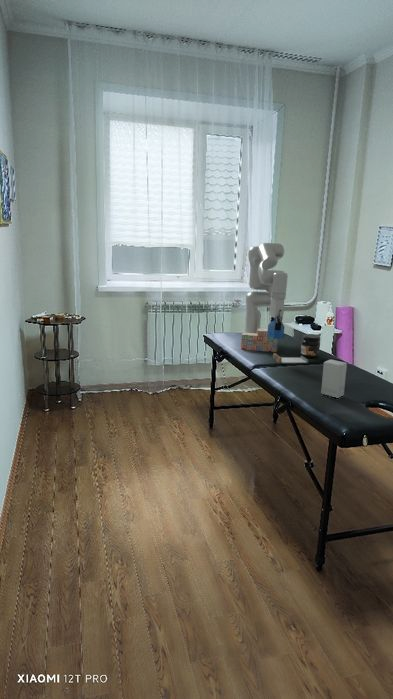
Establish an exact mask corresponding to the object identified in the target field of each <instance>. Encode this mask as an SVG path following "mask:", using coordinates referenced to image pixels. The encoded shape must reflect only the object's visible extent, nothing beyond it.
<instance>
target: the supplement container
mask: <svg viewBox="0 0 393 699" xmlns="http://www.w3.org/2000/svg"><path fill="white" fill-rule="evenodd" d="M320 340H321V336H319V335H317V334H311V333H308V334H303V335H302V340H301V346H300V356H303V357H304V358H306V359H317V358H318V357H319V356H320V347H321V342H320Z"/></svg>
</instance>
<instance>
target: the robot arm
mask: <svg viewBox="0 0 393 699" xmlns="http://www.w3.org/2000/svg"><path fill="white" fill-rule="evenodd" d="M247 253H248V254H247V257H248V262H249V267H250V268H249V282H248V285H249V288H250V289H251V290H256V291H249V292H248V293H246V296H245V308H246V309H245V325H244V333H256V334H257V329H261V321H262V320H261V319H262V313H261V311H260V310H259V308H269V312H268V314H269V315H270V322H271V321H274V318H276V323H275V330H281V324H282V323H283V318H284V312H285V310H284V309H285V300H286V298H287V297H286V296H287V288H288V285H287V284H288V273H286V272H285V271H283V270H277V269H275V270H274V268H275V267H276V266H277V264H278V262H279V260H281V259H282V258H284V255H285V248H284V246H283V244H281V243H275V242H264V243H261V244H260V245H258V246H251V247H250V248H249V249H248V252H247ZM259 290H260V291H259ZM270 322H269V323H270Z"/></svg>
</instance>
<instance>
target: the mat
mask: <svg viewBox="0 0 393 699" xmlns="http://www.w3.org/2000/svg"><path fill="white" fill-rule="evenodd" d="M281 358H282V360H281V363H280V364H309V359H308V358H306V357H303V356H301V355H300V357H281Z"/></svg>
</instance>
